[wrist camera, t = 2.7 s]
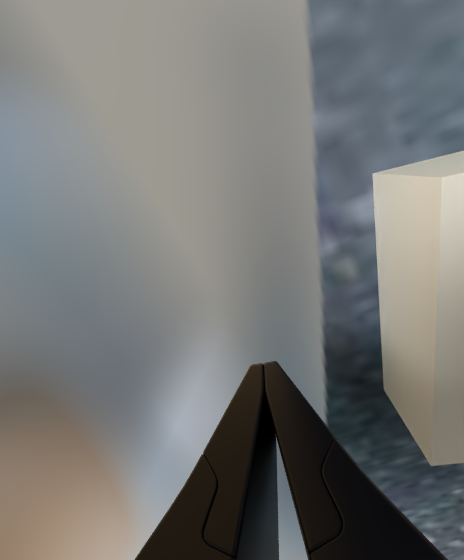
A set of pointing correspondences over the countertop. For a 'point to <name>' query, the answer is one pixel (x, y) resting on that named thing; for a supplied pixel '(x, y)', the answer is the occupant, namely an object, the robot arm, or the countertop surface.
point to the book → (423, 299)
